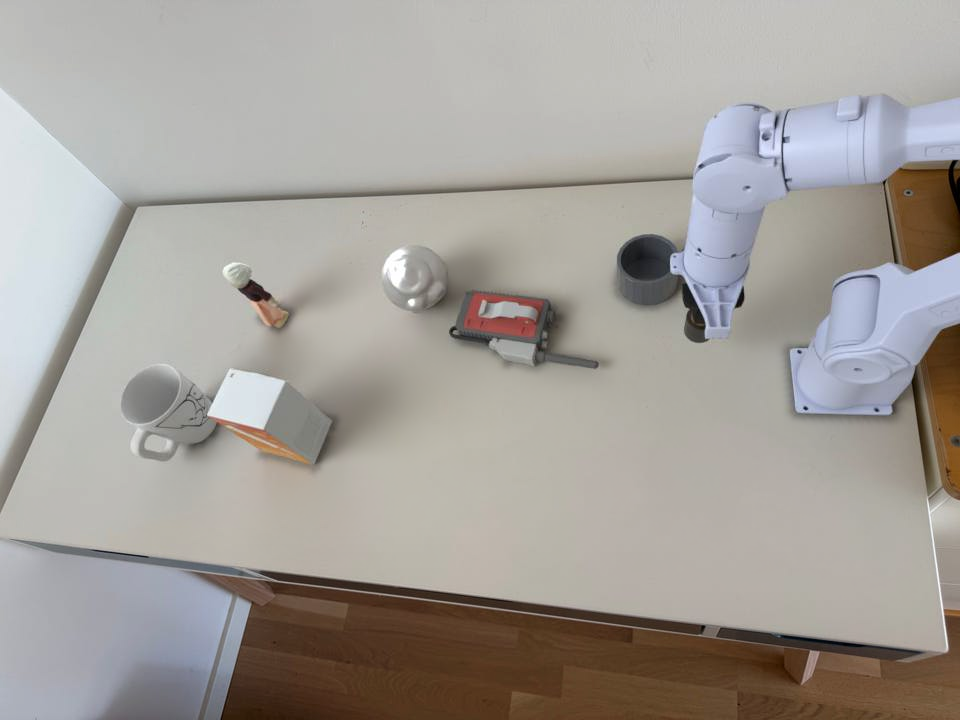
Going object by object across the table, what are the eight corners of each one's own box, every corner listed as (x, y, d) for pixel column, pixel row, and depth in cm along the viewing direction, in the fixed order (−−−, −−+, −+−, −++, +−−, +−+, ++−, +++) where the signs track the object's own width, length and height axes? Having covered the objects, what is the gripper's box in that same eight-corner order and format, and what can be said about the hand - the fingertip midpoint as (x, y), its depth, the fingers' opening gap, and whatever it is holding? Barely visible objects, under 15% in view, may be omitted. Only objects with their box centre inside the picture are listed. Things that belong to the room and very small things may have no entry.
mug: (195, 480, 85) (144, 456, 76) (147, 463, 88) (93, 437, 79) (236, 402, 89) (193, 371, 81) (189, 388, 92) (142, 356, 84)
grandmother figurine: (250, 323, 95) (199, 274, 84) (263, 301, 97) (215, 250, 86) (293, 335, 93) (246, 286, 82) (305, 312, 94) (261, 261, 83)
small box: (262, 452, 85) (204, 415, 74) (282, 408, 87) (228, 366, 76) (315, 466, 82) (263, 430, 71) (334, 421, 85) (286, 378, 73)
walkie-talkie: (446, 353, 86) (597, 378, 79) (437, 337, 82) (595, 361, 76) (465, 297, 89) (611, 316, 83) (457, 279, 85) (610, 298, 79)
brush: (713, 318, 73) (726, 267, 64) (714, 343, 71) (727, 295, 63) (683, 318, 74) (692, 268, 65) (684, 343, 72) (693, 295, 63)
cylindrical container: (676, 256, 85) (678, 232, 80) (677, 305, 81) (679, 283, 77) (618, 258, 86) (617, 235, 82) (617, 306, 83) (616, 284, 79)
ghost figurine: (387, 326, 90) (360, 287, 81) (401, 269, 94) (376, 226, 85) (449, 328, 87) (428, 288, 79) (461, 269, 91) (442, 225, 83)
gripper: (672, 170, 61) (663, 255, 73) (676, 303, 55) (665, 372, 67) (752, 166, 59) (730, 253, 71) (766, 302, 53) (739, 373, 65)
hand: (703, 311), depth 69 cm, fingers closed on brush, 2 cm apart
